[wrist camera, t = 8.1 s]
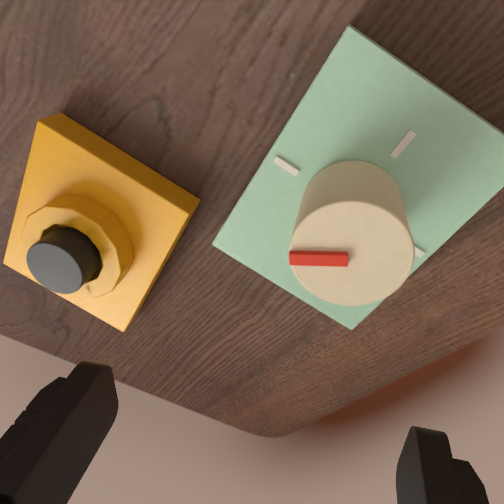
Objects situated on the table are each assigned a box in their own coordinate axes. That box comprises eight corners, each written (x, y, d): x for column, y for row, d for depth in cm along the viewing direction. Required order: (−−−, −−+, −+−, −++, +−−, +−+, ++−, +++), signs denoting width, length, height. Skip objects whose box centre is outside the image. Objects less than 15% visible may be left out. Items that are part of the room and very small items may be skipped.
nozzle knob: (406, 157, 19) (422, 203, 15) (398, 250, 21) (409, 314, 17) (299, 161, 20) (283, 204, 16) (302, 249, 23) (290, 307, 18)
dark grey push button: (91, 285, 27) (73, 304, 25) (42, 256, 26) (20, 274, 25) (108, 247, 25) (90, 264, 23) (55, 215, 24) (32, 231, 23)
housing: (137, 314, 32) (111, 349, 29) (23, 248, 31) (-17, 277, 28) (201, 199, 26) (178, 228, 22) (60, 111, 25) (15, 127, 21)
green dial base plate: (351, 301, 27) (351, 332, 25) (224, 222, 26) (210, 245, 24) (512, 139, 20) (536, 158, 18) (348, 23, 19) (348, 25, 17)
